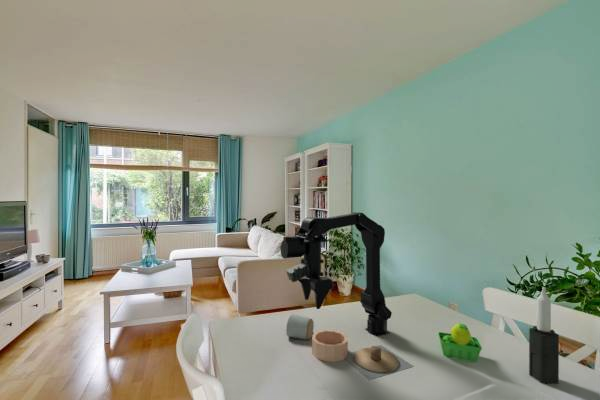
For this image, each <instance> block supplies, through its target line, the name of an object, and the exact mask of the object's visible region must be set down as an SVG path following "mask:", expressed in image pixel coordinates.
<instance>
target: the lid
mask: <svg viewBox="0 0 600 400" xmlns="http://www.w3.org/2000/svg"><path fill="white" fill-rule="evenodd" d="M378 346H379V345H372V346H370V347H364V348H361V349H358V350H355V351H356V352H355V351H354V352H355V354H354V361H355V363H356V364H357V365H358V366H360V367H361V368H363V369H365V370H368V371H371V372H376V373H388V372H392V371H394V370H396V369H397V368H398V366H399V361H398V359H397V357H396V356H395V355H393V354H392V353H390V352H388V351H385V350H382V349H381V348H380V347H378Z"/></svg>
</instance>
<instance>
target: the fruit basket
mask: <svg viewBox="0 0 600 400" xmlns="http://www.w3.org/2000/svg"><path fill="white" fill-rule="evenodd" d="M437 334H438V338H439V339H438V340H439V342H440V348H441V350H442V351H441V352H442V355H443V356H444V357H447V358H449V359H450V358H452V359H455V360H456V359H457V360H461V361H467V362H468V361H469V362H473V363H477V362H478V359H479V356H480V352H481V351H482V350H483V347H482V345H481V343H480V341H479V339H478V338H477V337H474V336H472V335H471V332H470V330H469V328H468V326H467V325H466V324H465V323H462V322H461V323H460V322H459V323H457V324H455V325H454V326H453V327H451V330H450V333H448V332H441V331H438V332H437Z"/></svg>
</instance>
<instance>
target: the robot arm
mask: <svg viewBox="0 0 600 400" xmlns="http://www.w3.org/2000/svg"><path fill="white" fill-rule="evenodd" d="M349 226H350V227H351V226H354V227H355V228H356V230H357V231H358V232H360V235H361V242H362V243H363V245H364V248H365V272H366V273H365V276H366V277H365V278H366V279H365V280H366V281H365V282H366V285H365V289H364V291H360V301H359V302H360V303H361V306H362V308H363V309H364V312H365V313H366V314H367V321H366V322H367V323H366V324H367V325H366V328H365V330H366V331H367V332H368V333H370V334H371V335H373V336H374V337H380V336H384V335H388V334H391V332H390V331H389V330H388V320H389V319H391V317H392V314H393V312H392V311H391V310H390V309H389V308H388V307H387V306H386V305H387V304H386V299H385V297H386V296H385V295H384V293H383V291H382V289H381V248H382V246H383V244H384V242H385V234H386V232H385V228H384V227H383V226H382V225H380V224H378V223H377V222H376V221H374V220H373V219H371V218H369V217H368V216H367V215H366V214H365V213H364V212H352V213H348V214H342V215H336V216H330V217H316V216H315V217H314V216H313V217H311V216H307V217H305V218H303V220H302V221H301V226H300V227H299V229H298V230H297V231H296V233H295V235H294V236H283V238H282V239H283V240H282V241H281V244H280V246H279V248H280V254H281V257H282V259H286V260H287V259H294V258H297V259H298V258H301V259H300V263H299V264H295V265H293V266H291V267H289V268H287V269H286V270H285V272H286V274H287V278H288V280H289V281H290V282H292V283H296V282H299V283H300V287H301V289H302V293H303V296H304V300H305V301H308V300H309V299H310V295H311V291H313V293H314V299H315V300H314V301H315V308H316V310H320V309H321V307H322V306H323V303H324V301H325V299H326V297H327V295H328V293H329V292H330V291H332V290H333V289H334V281H333V280H332V279H331V278H330V277H328V276H324V271H322V264H324V263H325V262H324V259H323V258H322V243H326V242H327V243H328V239H327V238H325V237H324V234H326V233H328V232H330V230H334V229H339V228H340V229H341V228H344V227H345V228H346V227H349Z"/></svg>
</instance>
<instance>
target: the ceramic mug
mask: <svg viewBox="0 0 600 400" xmlns="http://www.w3.org/2000/svg"><path fill="white" fill-rule="evenodd" d="M314 324H315V323H314V319H313V318H311V317H308V316H303V315H299V314H295V313H291V314H290V315H289V316H288V319H287V322H286V330H285V331H286V335H287V337H288V338H294V339H299V340H309V339H312V335H313V334H314V333H313V331H314Z"/></svg>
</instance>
